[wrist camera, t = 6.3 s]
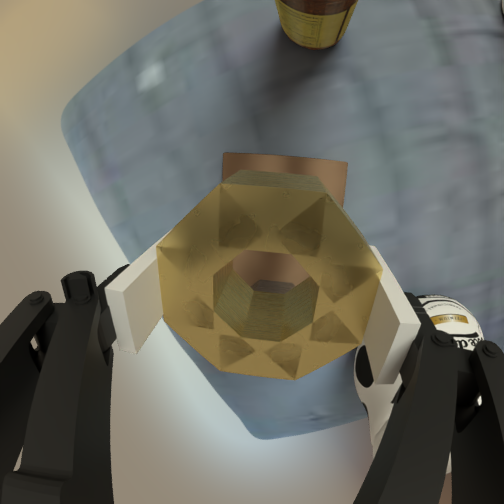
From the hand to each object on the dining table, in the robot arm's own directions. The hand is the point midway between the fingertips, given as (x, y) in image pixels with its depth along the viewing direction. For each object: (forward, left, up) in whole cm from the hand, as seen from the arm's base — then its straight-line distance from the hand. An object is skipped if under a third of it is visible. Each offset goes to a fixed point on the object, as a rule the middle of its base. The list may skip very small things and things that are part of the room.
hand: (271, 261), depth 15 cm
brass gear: (0, 0, 0) cm, 0 cm away
